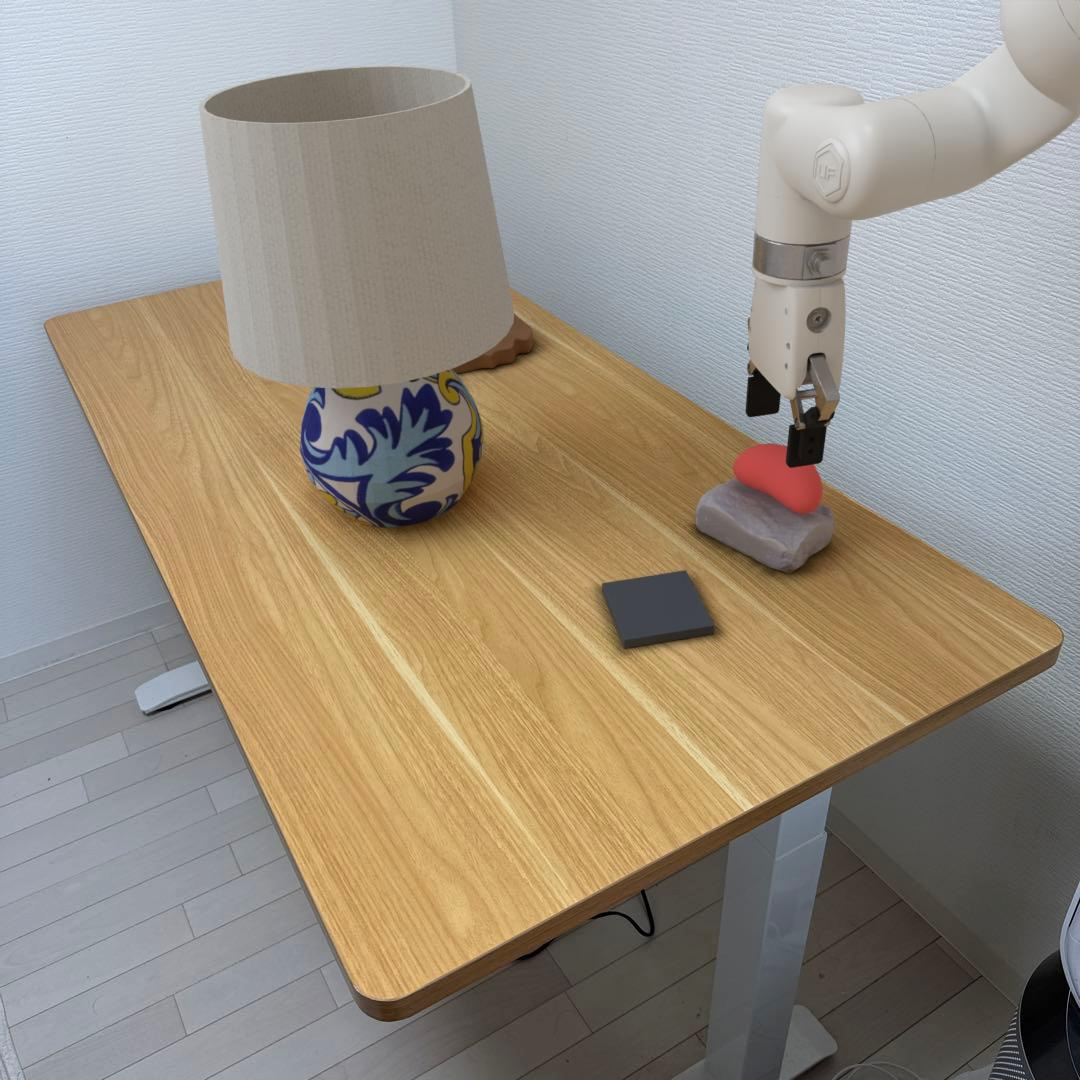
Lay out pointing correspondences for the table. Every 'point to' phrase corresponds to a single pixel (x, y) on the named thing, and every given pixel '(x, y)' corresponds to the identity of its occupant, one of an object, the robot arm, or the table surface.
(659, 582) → the felt pad
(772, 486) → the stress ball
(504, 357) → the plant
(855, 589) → the table surface
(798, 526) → the stone block
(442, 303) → the table lamp
